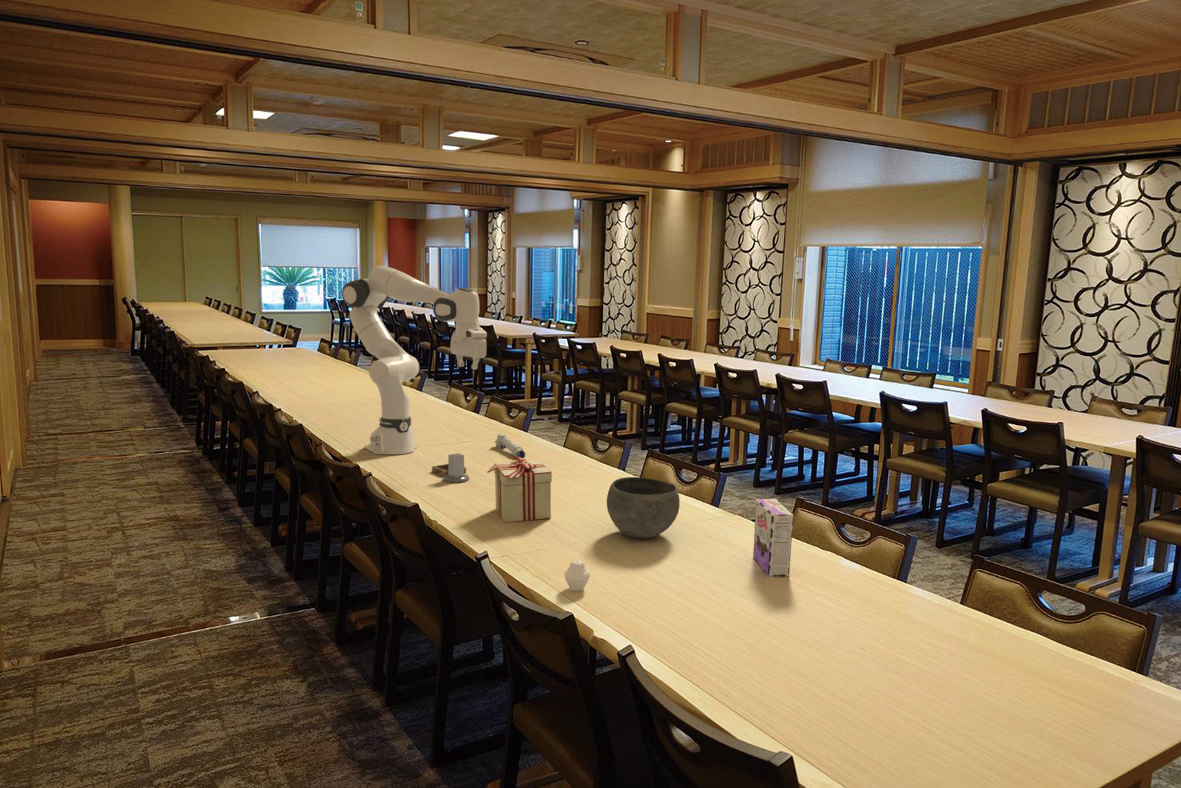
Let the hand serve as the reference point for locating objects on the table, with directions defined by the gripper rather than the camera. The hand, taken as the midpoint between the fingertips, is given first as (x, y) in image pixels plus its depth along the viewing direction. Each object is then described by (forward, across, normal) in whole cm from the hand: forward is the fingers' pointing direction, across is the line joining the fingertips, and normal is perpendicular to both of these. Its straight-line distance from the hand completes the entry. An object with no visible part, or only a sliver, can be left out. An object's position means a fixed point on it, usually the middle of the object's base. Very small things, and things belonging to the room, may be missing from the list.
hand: (467, 367), depth 304 cm
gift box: (+37, +65, -22) cm, 78 cm away
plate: (+37, +18, -16) cm, 45 cm away
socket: (+37, +8, -13) cm, 40 cm away
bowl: (+37, +102, -5) cm, 109 cm away
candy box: (+37, +140, +4) cm, 145 cm away
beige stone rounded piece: (+37, +120, -44) cm, 134 cm away
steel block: (+36, +18, -16) cm, 44 cm away
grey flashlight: (+38, -6, +23) cm, 45 cm away
